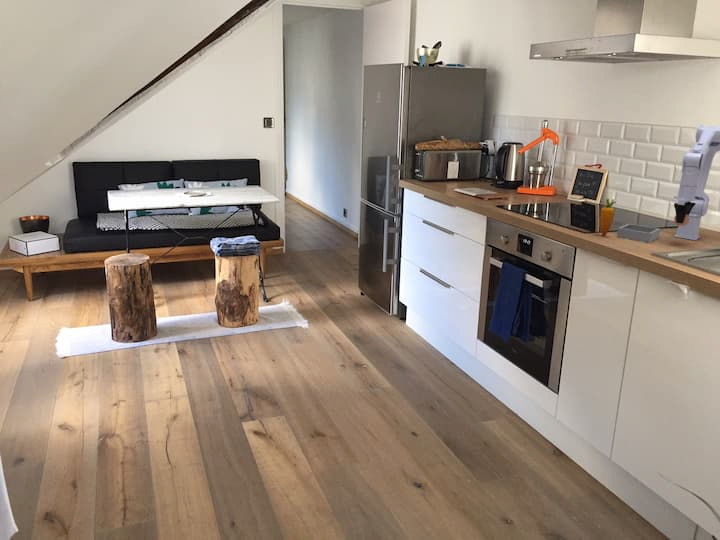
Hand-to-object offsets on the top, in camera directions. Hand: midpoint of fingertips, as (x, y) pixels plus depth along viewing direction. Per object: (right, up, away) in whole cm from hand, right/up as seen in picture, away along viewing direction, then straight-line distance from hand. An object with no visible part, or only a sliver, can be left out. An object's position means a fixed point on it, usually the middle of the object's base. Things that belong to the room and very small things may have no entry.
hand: (681, 222), depth 224 cm
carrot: (-25, -5, +9) cm, 27 cm away
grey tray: (-11, -5, +11) cm, 16 cm away
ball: (0, +1, 0) cm, 1 cm away
